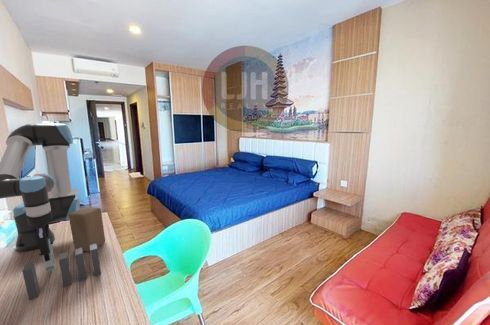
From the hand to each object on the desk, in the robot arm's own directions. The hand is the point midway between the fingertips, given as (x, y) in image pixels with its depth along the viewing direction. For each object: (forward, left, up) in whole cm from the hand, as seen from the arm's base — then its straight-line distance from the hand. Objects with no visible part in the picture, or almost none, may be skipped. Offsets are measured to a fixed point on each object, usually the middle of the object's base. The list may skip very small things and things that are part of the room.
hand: (49, 262), depth 95 cm
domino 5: (+14, +16, -4) cm, 21 cm away
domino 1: (+14, -4, -4) cm, 15 cm away
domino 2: (0, 0, -2) cm, 2 cm away
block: (-12, +15, -4) cm, 20 cm away
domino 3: (+14, +6, -4) cm, 15 cm away
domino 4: (+14, +11, -4) cm, 18 cm away
